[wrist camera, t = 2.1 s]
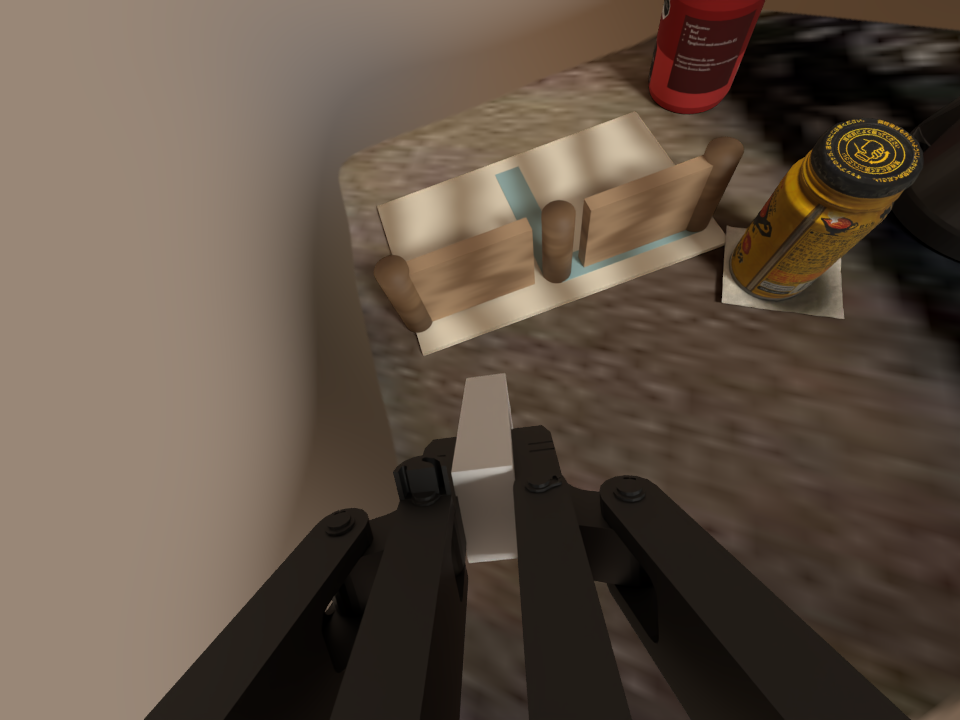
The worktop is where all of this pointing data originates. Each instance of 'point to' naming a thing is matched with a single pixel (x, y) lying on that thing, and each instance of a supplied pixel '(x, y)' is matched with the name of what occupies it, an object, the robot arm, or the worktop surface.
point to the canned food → (699, 51)
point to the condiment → (819, 219)
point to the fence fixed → (639, 210)
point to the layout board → (538, 221)
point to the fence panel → (458, 275)
